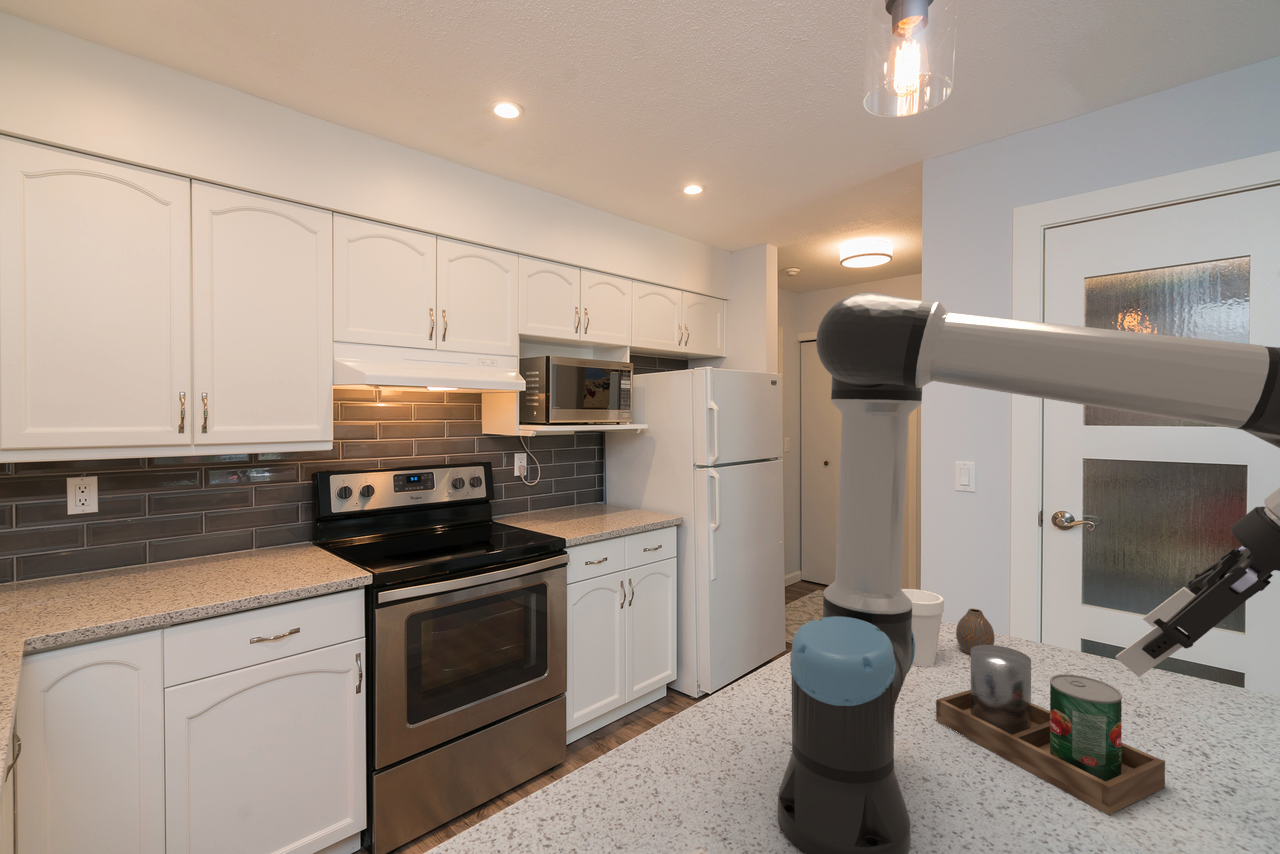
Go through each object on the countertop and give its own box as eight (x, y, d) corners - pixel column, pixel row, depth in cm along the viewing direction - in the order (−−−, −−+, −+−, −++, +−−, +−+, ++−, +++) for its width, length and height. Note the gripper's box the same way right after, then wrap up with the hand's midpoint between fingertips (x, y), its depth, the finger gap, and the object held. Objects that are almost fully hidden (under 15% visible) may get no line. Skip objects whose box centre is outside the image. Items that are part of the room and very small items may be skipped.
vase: (964, 643, 126) (964, 602, 126) (999, 653, 121) (1000, 610, 120) (950, 651, 121) (950, 609, 121) (986, 662, 116) (986, 618, 116)
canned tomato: (1137, 784, 76) (1138, 701, 76) (1075, 784, 76) (1076, 701, 76) (1092, 749, 84) (1092, 674, 84) (1036, 749, 84) (1036, 674, 84)
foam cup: (932, 651, 122) (932, 589, 121) (951, 671, 112) (951, 604, 112) (885, 650, 122) (885, 588, 122) (900, 669, 113) (900, 602, 113)
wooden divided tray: (1164, 787, 77) (1165, 761, 77) (1108, 815, 72) (1109, 787, 72) (988, 704, 99) (988, 684, 99) (936, 721, 94) (936, 699, 94)
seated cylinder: (1029, 745, 85) (1030, 670, 85) (967, 728, 90) (967, 657, 90) (1031, 721, 92) (1032, 652, 92) (973, 707, 97) (973, 641, 96)
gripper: (1341, 593, 51) (1149, 715, 63) (1347, 526, 67) (1192, 634, 78) (1244, 531, 55) (1081, 657, 67) (1271, 482, 71) (1135, 591, 83)
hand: (1141, 645), depth 73 cm, fingers open, 13 cm apart
